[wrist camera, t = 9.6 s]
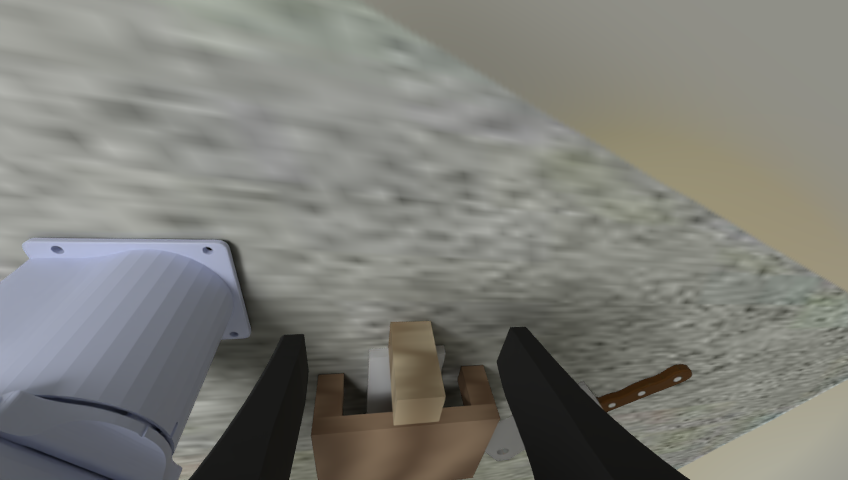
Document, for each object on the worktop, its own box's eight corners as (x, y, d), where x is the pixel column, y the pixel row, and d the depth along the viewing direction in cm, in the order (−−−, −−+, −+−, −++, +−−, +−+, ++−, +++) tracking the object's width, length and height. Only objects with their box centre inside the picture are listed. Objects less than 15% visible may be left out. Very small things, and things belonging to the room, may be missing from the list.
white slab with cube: (366, 433, 34) (366, 505, 29) (370, 322, 25) (371, 402, 20) (424, 427, 35) (434, 496, 30) (449, 320, 26) (469, 395, 21)
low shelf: (325, 440, 34) (320, 496, 30) (318, 374, 27) (310, 435, 24) (461, 427, 36) (472, 477, 32) (483, 365, 30) (500, 418, 26)
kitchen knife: (683, 337, 31) (696, 386, 36) (675, 329, 32) (689, 378, 37) (455, 434, 37) (494, 465, 42) (454, 424, 37) (492, 456, 43)
